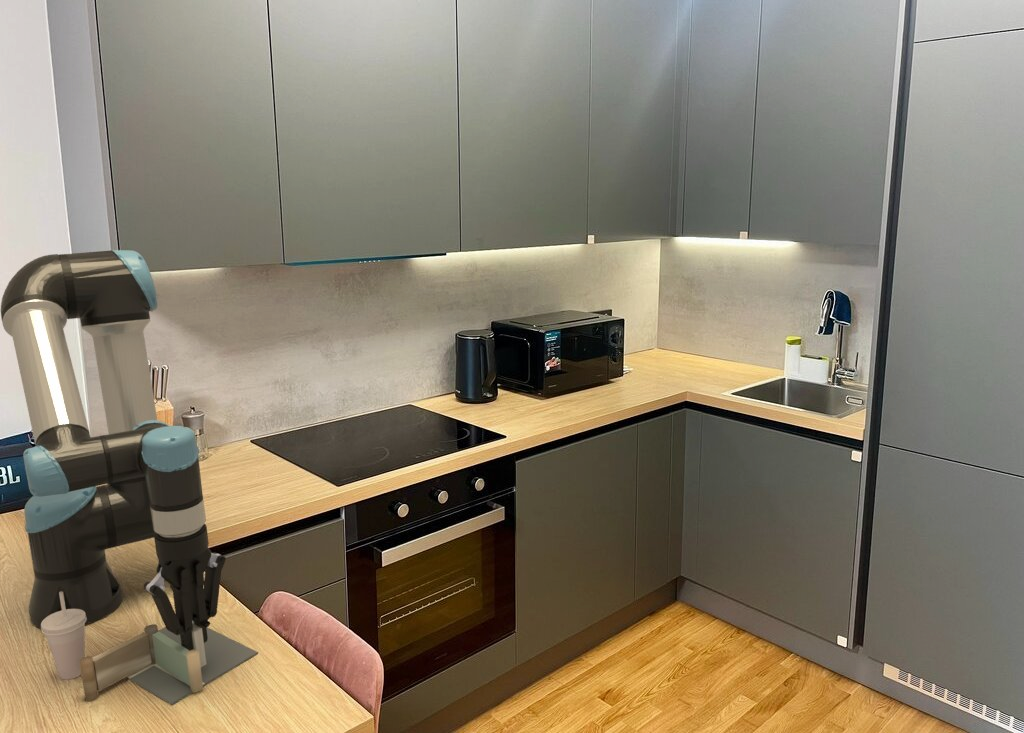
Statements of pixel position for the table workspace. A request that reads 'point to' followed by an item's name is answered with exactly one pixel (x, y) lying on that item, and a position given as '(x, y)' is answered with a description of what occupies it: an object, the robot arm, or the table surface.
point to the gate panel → (178, 660)
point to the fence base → (117, 662)
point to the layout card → (218, 662)
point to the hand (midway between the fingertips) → (197, 663)
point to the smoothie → (66, 639)
